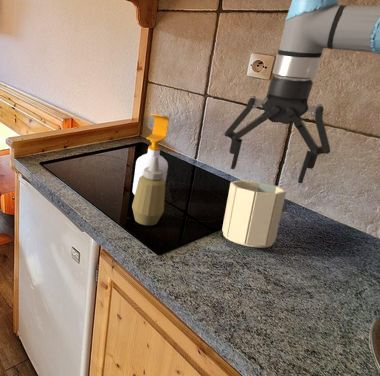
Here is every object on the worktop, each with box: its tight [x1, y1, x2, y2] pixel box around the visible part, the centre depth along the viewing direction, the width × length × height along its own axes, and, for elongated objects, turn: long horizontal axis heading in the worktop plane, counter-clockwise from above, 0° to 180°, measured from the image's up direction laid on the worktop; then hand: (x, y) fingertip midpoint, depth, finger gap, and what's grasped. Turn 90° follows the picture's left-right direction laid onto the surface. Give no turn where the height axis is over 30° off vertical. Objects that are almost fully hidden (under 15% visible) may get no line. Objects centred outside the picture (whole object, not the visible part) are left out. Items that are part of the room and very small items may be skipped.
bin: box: [221, 180, 287, 249], centre depth 96 cm, size 11×11×13 cm
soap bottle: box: [132, 113, 170, 196], centre depth 116 cm, size 9×9×25 cm
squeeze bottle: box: [131, 156, 166, 227], centre depth 103 cm, size 8×8×18 cm
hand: (265, 174), depth 91 cm, fingers open, 13 cm apart
